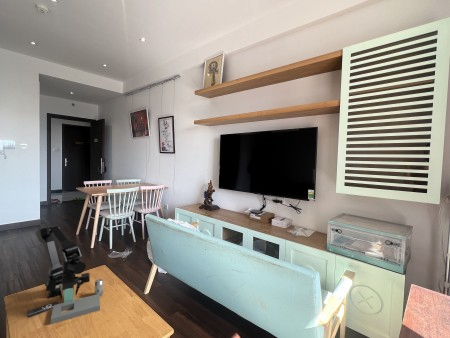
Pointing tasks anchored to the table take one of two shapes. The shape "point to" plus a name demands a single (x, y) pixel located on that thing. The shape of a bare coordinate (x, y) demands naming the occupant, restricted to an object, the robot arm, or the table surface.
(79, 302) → the plate
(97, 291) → the round peg
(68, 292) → the square peg
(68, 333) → the table surface
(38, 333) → the table surface
